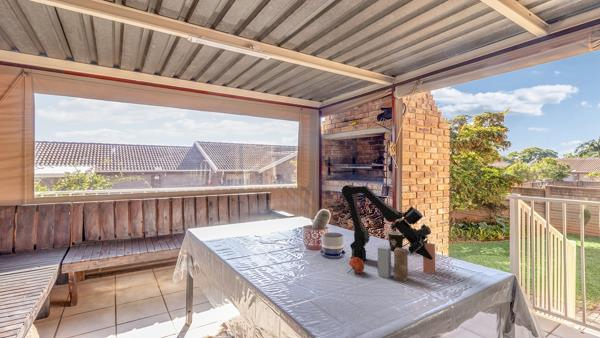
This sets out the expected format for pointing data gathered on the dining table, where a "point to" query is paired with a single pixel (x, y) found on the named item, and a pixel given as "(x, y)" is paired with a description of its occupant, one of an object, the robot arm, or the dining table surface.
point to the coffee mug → (396, 240)
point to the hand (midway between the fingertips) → (432, 257)
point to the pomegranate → (357, 264)
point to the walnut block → (400, 264)
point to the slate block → (384, 261)
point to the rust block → (427, 263)
